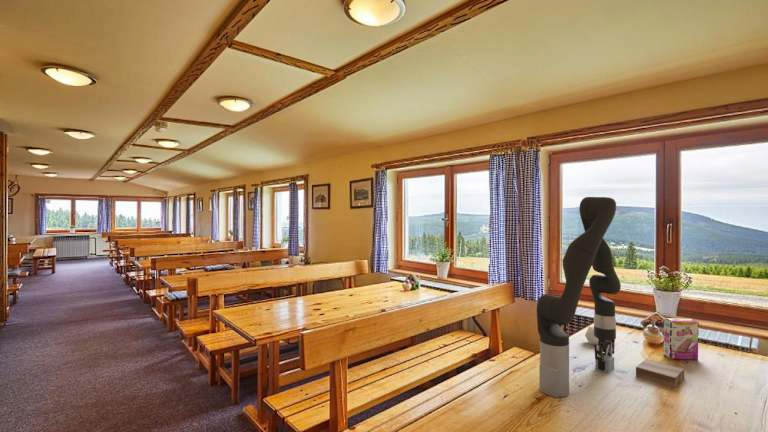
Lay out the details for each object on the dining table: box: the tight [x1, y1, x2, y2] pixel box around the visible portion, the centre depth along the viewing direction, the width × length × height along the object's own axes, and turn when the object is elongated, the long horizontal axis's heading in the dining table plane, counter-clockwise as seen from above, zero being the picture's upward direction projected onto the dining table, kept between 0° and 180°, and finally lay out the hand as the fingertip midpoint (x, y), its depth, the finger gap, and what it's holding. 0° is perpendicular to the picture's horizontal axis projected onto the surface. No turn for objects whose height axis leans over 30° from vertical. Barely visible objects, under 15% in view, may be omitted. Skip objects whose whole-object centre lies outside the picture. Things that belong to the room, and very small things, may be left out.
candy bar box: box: [662, 317, 700, 361], centre depth 156 cm, size 11×5×16 cm, turn 84°
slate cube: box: [594, 355, 615, 374], centre depth 145 cm, size 5×5×5 cm
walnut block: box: [635, 358, 685, 389], centre depth 138 cm, size 12×12×4 cm
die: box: [584, 326, 599, 346], centre depth 173 cm, size 8×9×10 cm
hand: (604, 367), depth 145 cm, fingers open, 6 cm apart
